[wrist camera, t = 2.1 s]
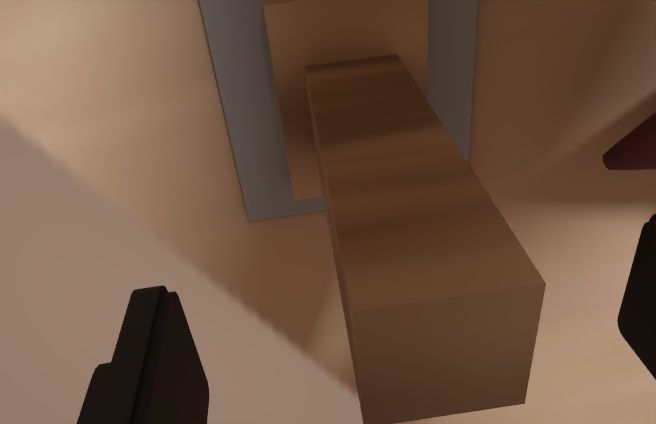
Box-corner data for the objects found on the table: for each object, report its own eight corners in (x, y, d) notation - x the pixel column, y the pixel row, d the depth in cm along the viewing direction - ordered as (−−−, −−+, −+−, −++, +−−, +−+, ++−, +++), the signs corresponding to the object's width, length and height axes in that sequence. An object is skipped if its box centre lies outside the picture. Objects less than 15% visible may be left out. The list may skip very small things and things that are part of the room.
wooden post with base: (262, -4, 17) (265, 213, 7) (418, -24, 17) (639, 160, 7) (292, 183, 21) (321, 492, 11) (419, 166, 21) (561, 455, 11)
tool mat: (189, -50, 16) (188, -48, 16) (478, -86, 17) (483, -85, 16) (249, 216, 22) (248, 221, 22) (464, 186, 22) (467, 191, 22)
